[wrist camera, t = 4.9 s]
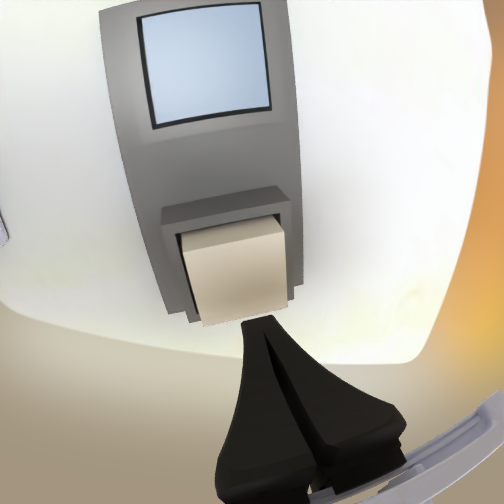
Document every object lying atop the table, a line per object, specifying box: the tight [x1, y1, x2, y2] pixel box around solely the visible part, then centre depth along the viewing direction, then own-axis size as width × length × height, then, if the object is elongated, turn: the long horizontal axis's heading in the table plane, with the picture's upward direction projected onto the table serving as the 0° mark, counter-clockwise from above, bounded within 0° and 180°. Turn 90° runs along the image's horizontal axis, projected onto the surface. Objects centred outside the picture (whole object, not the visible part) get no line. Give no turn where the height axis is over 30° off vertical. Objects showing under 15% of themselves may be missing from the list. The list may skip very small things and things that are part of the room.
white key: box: [181, 215, 288, 327], centre depth 17 cm, size 5×5×2 cm
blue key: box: [142, 4, 269, 124], centre depth 12 cm, size 5×5×2 cm
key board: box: [99, 0, 303, 323], centre depth 16 cm, size 10×20×4 cm, turn 6°
